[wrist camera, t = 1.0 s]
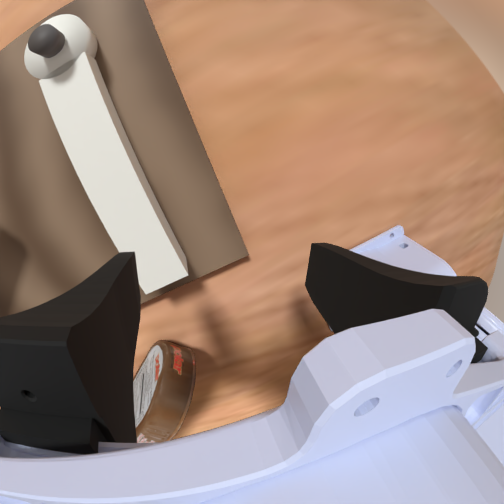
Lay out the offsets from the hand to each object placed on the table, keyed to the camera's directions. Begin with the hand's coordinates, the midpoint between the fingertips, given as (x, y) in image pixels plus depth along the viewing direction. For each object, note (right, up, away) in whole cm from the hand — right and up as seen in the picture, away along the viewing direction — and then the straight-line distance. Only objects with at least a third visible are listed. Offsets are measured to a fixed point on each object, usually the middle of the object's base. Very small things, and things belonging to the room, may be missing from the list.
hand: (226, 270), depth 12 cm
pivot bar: (-8, +7, +4) cm, 11 cm away
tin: (-9, -11, +14) cm, 20 cm away
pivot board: (-15, +5, +4) cm, 16 cm away
